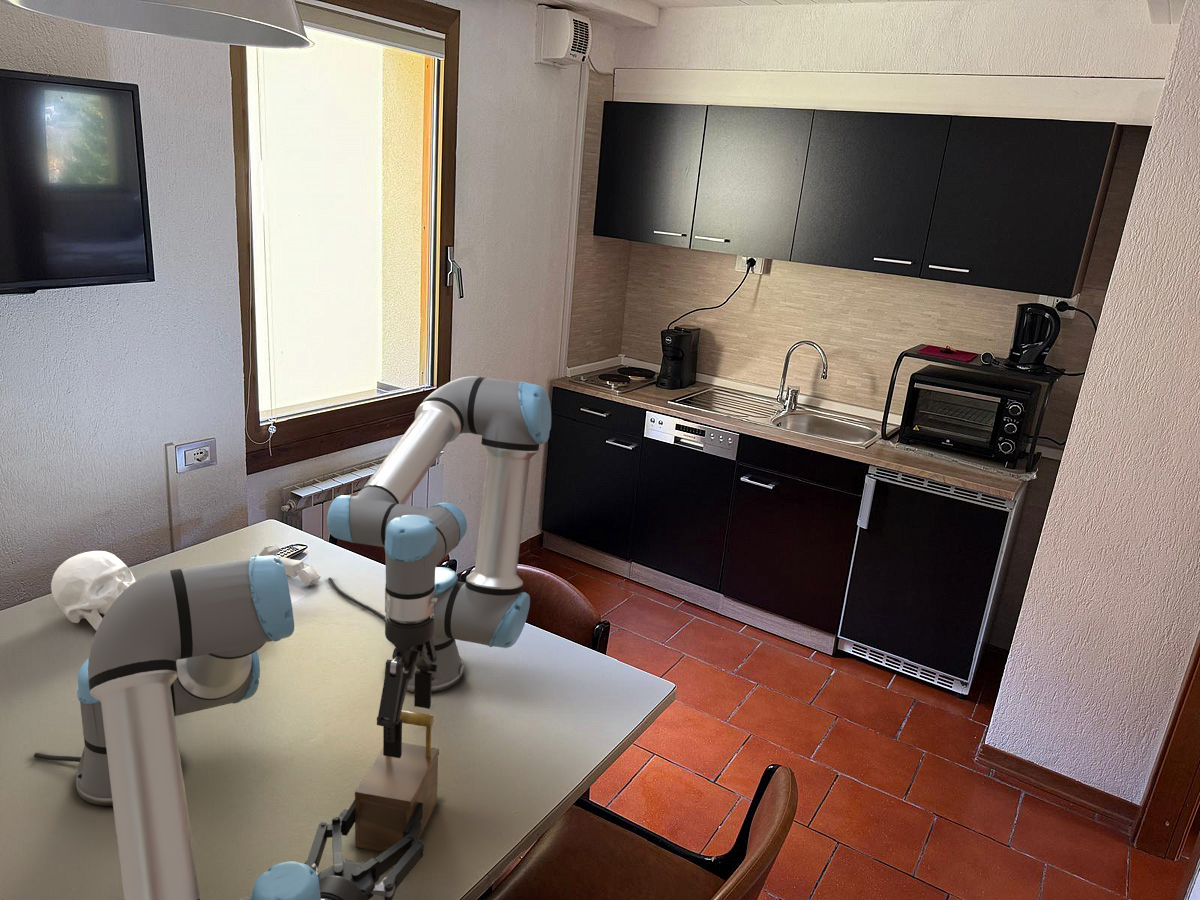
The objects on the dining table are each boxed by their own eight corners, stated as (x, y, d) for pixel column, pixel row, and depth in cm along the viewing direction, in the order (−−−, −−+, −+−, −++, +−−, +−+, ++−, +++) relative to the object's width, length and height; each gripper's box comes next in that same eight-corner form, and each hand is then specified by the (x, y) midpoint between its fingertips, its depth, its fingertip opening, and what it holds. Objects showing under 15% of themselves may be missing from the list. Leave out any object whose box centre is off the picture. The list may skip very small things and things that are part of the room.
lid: (387, 745, 144) (388, 699, 142) (439, 754, 143) (440, 707, 141) (354, 797, 132) (354, 748, 129) (410, 807, 131) (411, 758, 128)
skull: (118, 643, 184) (114, 575, 180) (38, 622, 190) (32, 556, 185) (165, 617, 196) (162, 554, 192) (89, 598, 202) (84, 536, 198)
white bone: (253, 565, 223) (254, 542, 221) (265, 560, 226) (266, 537, 224) (309, 593, 215) (310, 569, 213) (320, 588, 218) (321, 564, 216)
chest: (386, 793, 147) (386, 747, 144) (437, 802, 146) (438, 756, 143) (355, 846, 135) (354, 798, 132) (410, 857, 133) (410, 807, 131)
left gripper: (251, 925, 117) (326, 812, 138) (404, 955, 114) (456, 835, 135) (249, 881, 114) (325, 773, 136) (404, 911, 112) (457, 796, 133)
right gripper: (403, 657, 121) (402, 782, 128) (457, 582, 145) (454, 691, 151) (353, 649, 122) (354, 774, 128) (415, 576, 146) (413, 685, 152)
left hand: (390, 804), depth 135 cm, fingers closed on chest, 9 cm apart
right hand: (408, 730), depth 140 cm, fingers open, 13 cm apart
